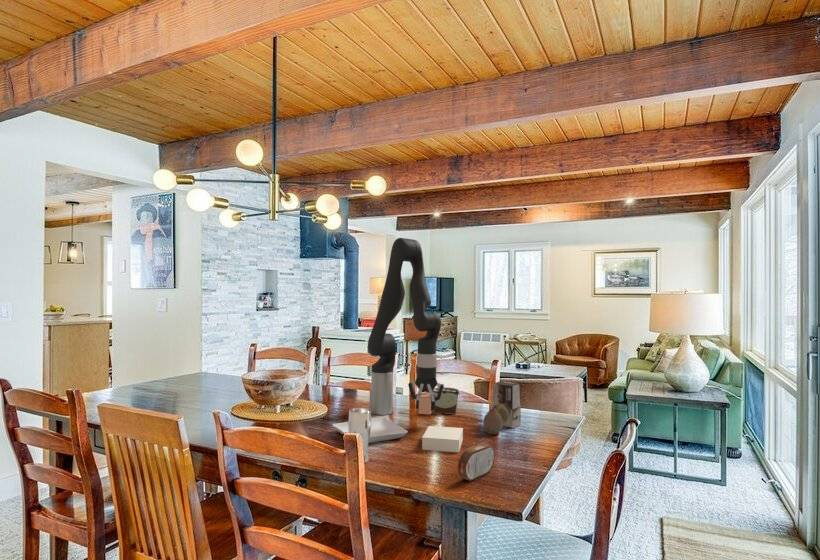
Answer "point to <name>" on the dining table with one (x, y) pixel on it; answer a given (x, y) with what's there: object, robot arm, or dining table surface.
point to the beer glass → (361, 426)
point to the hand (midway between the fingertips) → (425, 410)
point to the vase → (492, 422)
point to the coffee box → (508, 402)
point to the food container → (446, 400)
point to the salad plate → (377, 429)
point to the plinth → (442, 439)
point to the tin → (476, 461)
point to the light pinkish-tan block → (425, 404)
